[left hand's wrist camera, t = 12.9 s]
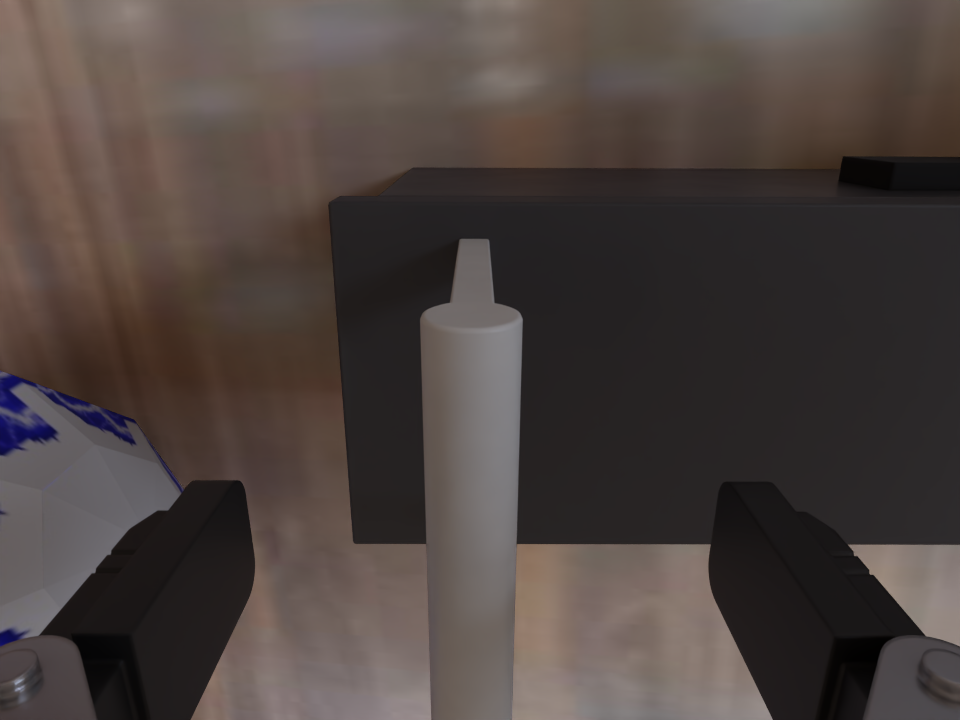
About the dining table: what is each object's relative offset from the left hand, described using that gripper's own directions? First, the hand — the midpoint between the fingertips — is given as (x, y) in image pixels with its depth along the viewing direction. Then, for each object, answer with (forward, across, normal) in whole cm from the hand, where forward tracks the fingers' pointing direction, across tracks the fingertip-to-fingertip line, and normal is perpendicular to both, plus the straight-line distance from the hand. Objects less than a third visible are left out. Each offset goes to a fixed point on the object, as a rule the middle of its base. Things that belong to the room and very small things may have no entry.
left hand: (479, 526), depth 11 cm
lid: (+7, -5, 0) cm, 9 cm away
